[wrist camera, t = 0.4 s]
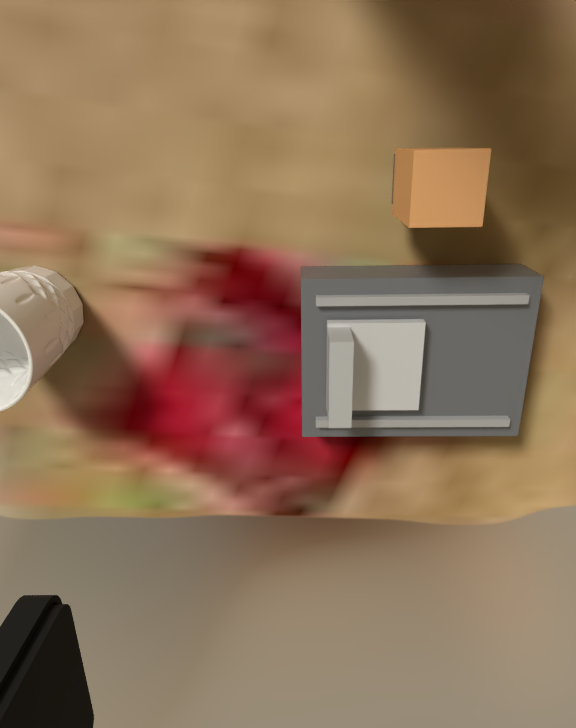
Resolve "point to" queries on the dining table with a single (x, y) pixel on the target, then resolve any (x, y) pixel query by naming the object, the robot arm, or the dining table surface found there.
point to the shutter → (372, 366)
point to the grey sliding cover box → (429, 343)
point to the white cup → (33, 327)
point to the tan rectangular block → (440, 186)
